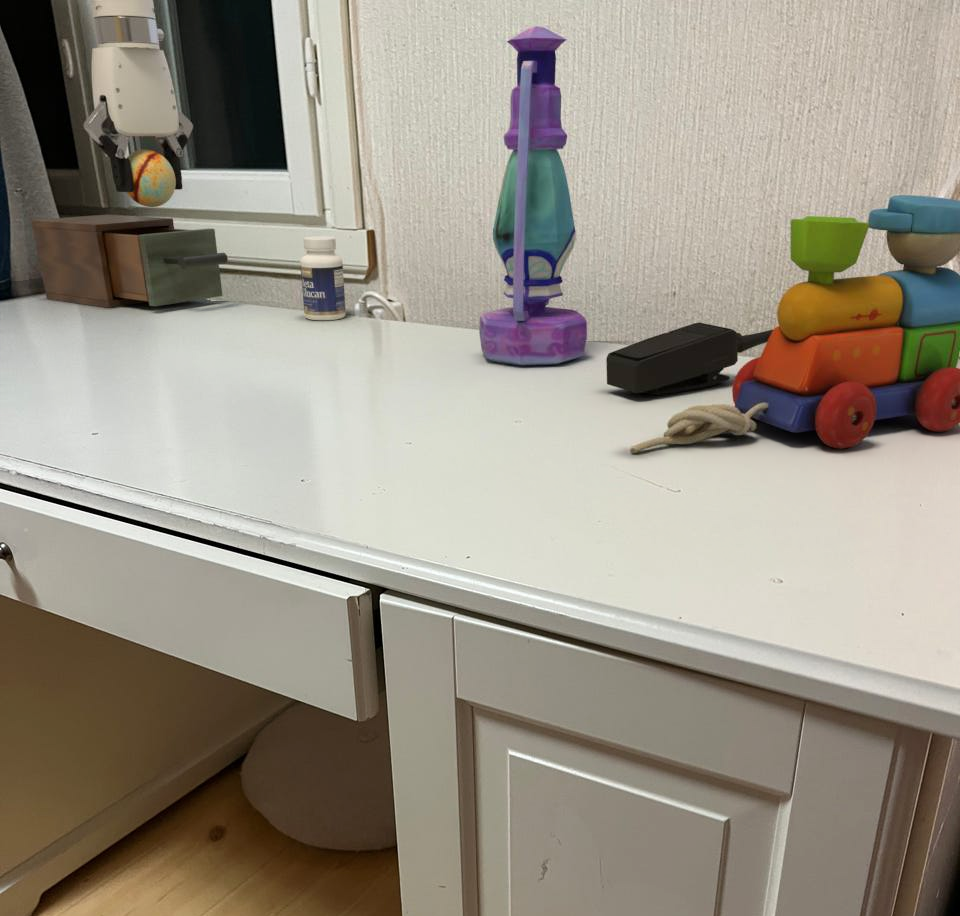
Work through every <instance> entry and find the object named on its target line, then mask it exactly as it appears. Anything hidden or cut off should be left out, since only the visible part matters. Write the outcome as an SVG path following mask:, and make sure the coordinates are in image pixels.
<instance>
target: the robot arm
mask: <svg viewBox="0 0 960 916" xmlns="http://www.w3.org/2000/svg"><path fill="white" fill-rule="evenodd" d="M89 1H90V6H91V12H92V18H93V26H94V32H95V38H96V44H97V47H93V48H92V49H91V86H92V100H93V108H94V110H93V111H92V112H91V113H90V114H89V116H88V118H87V119H86V120H85V121H84V122H83V129H84V130H85V131H86V133H87V134H88V135H89V137H91V138H92V140H94V142H95V144H96V145H97V146H98V148H99V149H100V150H101V151H102V152H103V153H104V156H105V157H106V158H107V159H109V162H110V168H111V174H112V181H113V183H114V185H115V190H116V192H118V193H127V192H133V191H134V183H133V177H132V170H131V164H130V160H129V158H127V157H126V152H127V150H128V149H127V148H128V144H129V140H130V137H154V139H155V141H156V142H157V145H158V146H159V149H160V151H161V152H162V153H163V157H164V158H165V159H166V160H167V161H168V162H169V163H170V165H171V166H172V168H173V171H174V173H175V178H176V186H175V190H183V176H182V169H181V161H180V157H182V156H183V154H184V149H185V147H186V145H187V144H188V142H189V141H188V139H189V138H190V135H191V133H192V132H193V129H194V124H193V123H192V122H191V121H190V119H188V117H187V116H186V115H184V113H183V112H182V111H181V110H180V109H179V108H178V105H177V99H176V93H175V88H174V84H173V79H172V76H171V72H170V68H169V64H168V61H167V58H166V55H165V52H164V50H163V49H160V42H162V41H163V40H164V38H165V33H164V31H163V29H161V28H158V26H157V20H156V19H157V18H156V12H155V5H154V0H89Z"/></svg>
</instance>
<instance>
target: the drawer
mask: <svg viewBox="0 0 960 916" xmlns="http://www.w3.org/2000/svg"><path fill="white" fill-rule="evenodd" d="M101 232H102V237H103V243H104V248H105V254H106V260H107V266H108V272H109V278H110V283H111V289H112V295H113V297H119V298H127V299H134V300H141V301H149V302H148V305H149V306H150V307H160V306H167V305H173V304H180V303H186V302H193V301H199V300H207V299H212V298H218V297H219V298H220V297H223V288H222V287H223V286H222V280H221V279H222V278H221V272H220V271H221V270H220V265H225V264H227V263H228V260H229V259H228V255H227V254H226V253H225V252H218V247H217V239H216V238H217V237H216V230H215V228H197V229H185V228H184V229H183V228H174V229H171V228H156V227H146V228H135V229H123V230H111V231H101Z"/></svg>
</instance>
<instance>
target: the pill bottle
mask: <svg viewBox="0 0 960 916" xmlns="http://www.w3.org/2000/svg"><path fill="white" fill-rule="evenodd" d="M336 247H337V241H336V237H335V236H332V235H331V236H329V235H311V236H304V237H303V248H304V251H306V254H305V255H303V256H302V257H301V258H300V261H299V263H300V264H299V265H300V266H299V267H300V277H301V288H302V301H303V314H304V317H305V318H306V319H308V320H312V321H335V320H340V319H343V318H345V317H346V313H347V312H346V310H347V309H346V297H345V295H346V294H345V279H344V265H343V258H341V257H340V255H338V254H336V253H335V251H336V249H337V248H336Z"/></svg>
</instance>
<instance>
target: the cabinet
mask: <svg viewBox="0 0 960 916" xmlns="http://www.w3.org/2000/svg"><path fill="white" fill-rule="evenodd" d="M30 223H31V227H32V232H33V238H34V242H35V243H34V244H35V248H36V253H37V258H38V263H39V268H40V272H41V273H40V274H41V277H42V283H43V287H44V293H45V296H46V297H45V298H46V300H52V301H53V300H54V301H58V302H59V301H60V302H66V303H73V304H79V305H86V306H92V307H99V308H106V309H112V308H113V309H114V308H118V307H125V306H133V305H141V304H146V303H149V301H141V300H134V299H127V298H119V297H113V295H112V289H111V283H110V278H109V272H108V266H107V260H106V254H105V248H104V243H103V237H102V232H101V231H111V230H123V229H135V228H146V227H156V228H171V229H175V225H174V224H175V223H174V219H173V218H172V217H157V216H155V217H154V216H139V215H138V216H137V215H123V214H121V215H120V214H96V215H83V216H70V217H58V218H57V217H55V218H41V219H31V220H30Z"/></svg>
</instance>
